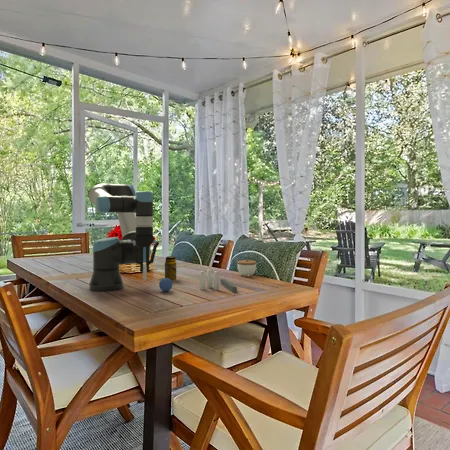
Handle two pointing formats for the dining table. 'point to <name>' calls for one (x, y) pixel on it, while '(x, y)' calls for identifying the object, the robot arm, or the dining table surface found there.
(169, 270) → the condiment
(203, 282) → the front pin
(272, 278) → the dining table surface
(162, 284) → the ball
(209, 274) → the back pin left
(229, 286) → the stopper bar
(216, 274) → the back pin right
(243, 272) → the lidded jar
